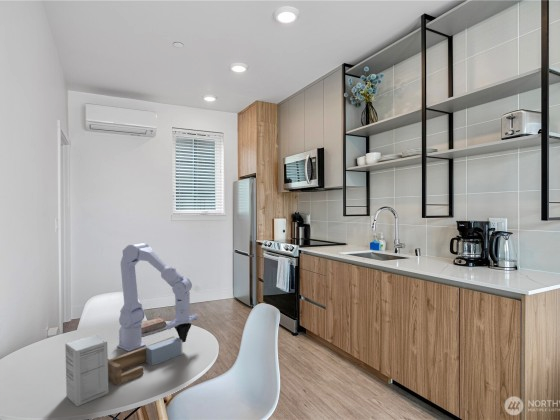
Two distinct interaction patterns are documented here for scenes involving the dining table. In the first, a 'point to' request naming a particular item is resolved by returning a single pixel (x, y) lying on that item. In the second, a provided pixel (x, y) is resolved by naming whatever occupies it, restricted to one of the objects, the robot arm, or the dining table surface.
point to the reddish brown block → (152, 326)
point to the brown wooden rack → (127, 365)
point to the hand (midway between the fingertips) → (182, 341)
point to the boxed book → (164, 351)
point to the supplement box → (86, 369)
